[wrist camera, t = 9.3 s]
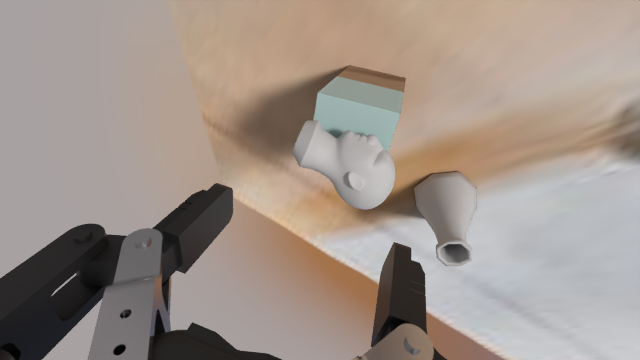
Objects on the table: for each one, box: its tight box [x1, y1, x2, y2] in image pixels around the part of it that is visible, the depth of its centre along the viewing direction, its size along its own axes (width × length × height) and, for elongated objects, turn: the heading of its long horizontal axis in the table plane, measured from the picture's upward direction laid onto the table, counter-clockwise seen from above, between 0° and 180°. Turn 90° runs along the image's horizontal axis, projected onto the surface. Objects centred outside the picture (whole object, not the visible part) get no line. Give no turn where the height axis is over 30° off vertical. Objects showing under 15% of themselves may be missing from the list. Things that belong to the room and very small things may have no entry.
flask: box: [414, 172, 477, 266], centre depth 30 cm, size 7×7×10 cm
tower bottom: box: [338, 65, 406, 93], centre depth 29 cm, size 6×6×6 cm
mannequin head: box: [292, 120, 395, 210], centre depth 20 cm, size 4×8×5 cm
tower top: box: [314, 76, 403, 152], centre depth 24 cm, size 6×6×6 cm
